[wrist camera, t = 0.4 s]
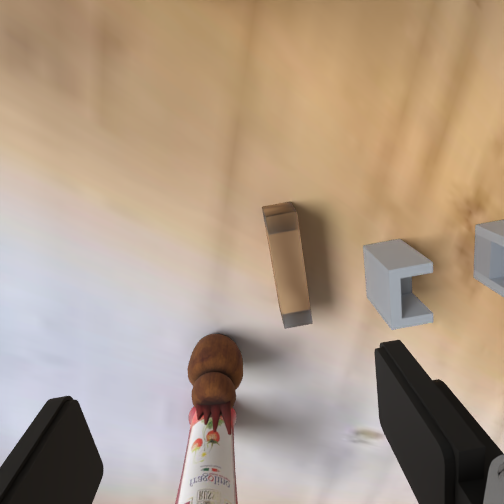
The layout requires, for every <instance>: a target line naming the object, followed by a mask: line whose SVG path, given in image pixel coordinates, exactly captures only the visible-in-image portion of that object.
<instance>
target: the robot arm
mask: <svg viewBox="0 0 504 504" xmlns="http://www.w3.org/2000/svg"><path fill="white" fill-rule="evenodd" d="M375 365H376V379H377V393H378V407H379V419H380V424H381V427H382V429H383V432H384V434H385V436H386V438H387V440H388V442H389V444H390V446H391V448H392V450H393V452H394V454H395V456H396V458H397V460H398V462H399V464H400V466H401V468H402V470H403V472H404V474H405V476H406V478H407V480H408V482H409V484H410V486H411V488H412V490H413V493H414V495H415V497H416V499H417V501H418V503H419V504H504V454H503V452H502V451H501V450H500V449H499V448H498V446H497V445H496V444H495V443H494V442H493V440H492V439H491V438H490V437H489V436H488V434H487V433H486V432H485V431H484V430H483V428H482V427H481V426H480V425H479V424H478V422H477V421H476V420H475V419H474V418H473V416H472V415H471V414H470V413H469V412H468V410H467V409H466V408H465V407H464V406H463V404H462V403H461V402H460V401H459V400H458V399H457V397H456V396H455V395H454V394H453V393H452V391H451V390H450V389H449V388H448V387H447V385H446V384H445V383H444V382H443V381H441V380H439V379H438V380H431V378H430V377H429V376H428V374H427V373H426V372H425V371H424V369H423V368H422V367H421V366H420V364H419V363H418V362H417V361H416V359H415V358H414V357H413V356H412V354H411V353H410V352H409V351H408V349H407V348H406V347H405V345H404V344H403V343H402V342H401V341H400V340H395V341H389V342H383V343H380V348H377V349H375ZM102 476H103V463H102V460H101V458H100V455H99V453H98V450H97V448H96V445H95V443H94V440H93V438H92V435H91V433H90V430H89V427H88V425H87V422H86V420H85V417H84V415H83V412H82V410H81V407H80V405H79V403H78V401H77V400H73V398H72V397H71V396H65V397H59V398H53V399H50V400H48V401H47V402H46V404H45V405H44V406H43V408H42V409H41V411H40V412H39V413H38V415H37V416H36V418H35V419H34V421H33V422H32V423H31V425H30V426H29V428H28V429H27V430H26V432H25V433H24V435H23V436H22V437H21V439H20V440H19V442H18V443H17V445H16V446H15V447H14V449H13V450H12V452H11V453H10V454H9V456H8V457H7V459H6V460H5V461H4V463H3V464H2V466H1V467H0V504H92V502H93V500H94V497H95V495H96V492H97V489H98V487H99V484H100V482H101V479H102Z"/></svg>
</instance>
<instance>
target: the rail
mask: <svg viewBox="0 0 504 504" xmlns="http://www.w3.org/2000/svg"><path fill="white" fill-rule="evenodd" d="M262 209H263V215H264V221H265V227H266V232H267V238H268V244H269V250H270V255H271V261H272V267H273V273H274V278H275V284H276V290H277V296H278V301H279V307H280V312H281V316H282V320H283V324H284V328H285V329H286V328H291V327H297V326H302V325H308V324H313V323H312V316H311V309H310V301H309V294H308V287H307V280H306V273H305V266H304V258H303V251H302V244H301V237H300V230H299V223H298V215H297V211H296V209H295V208H294V207H293V205H292V204H291V202H285V203H280V204H275V205H269V206H264V207H262Z"/></svg>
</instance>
